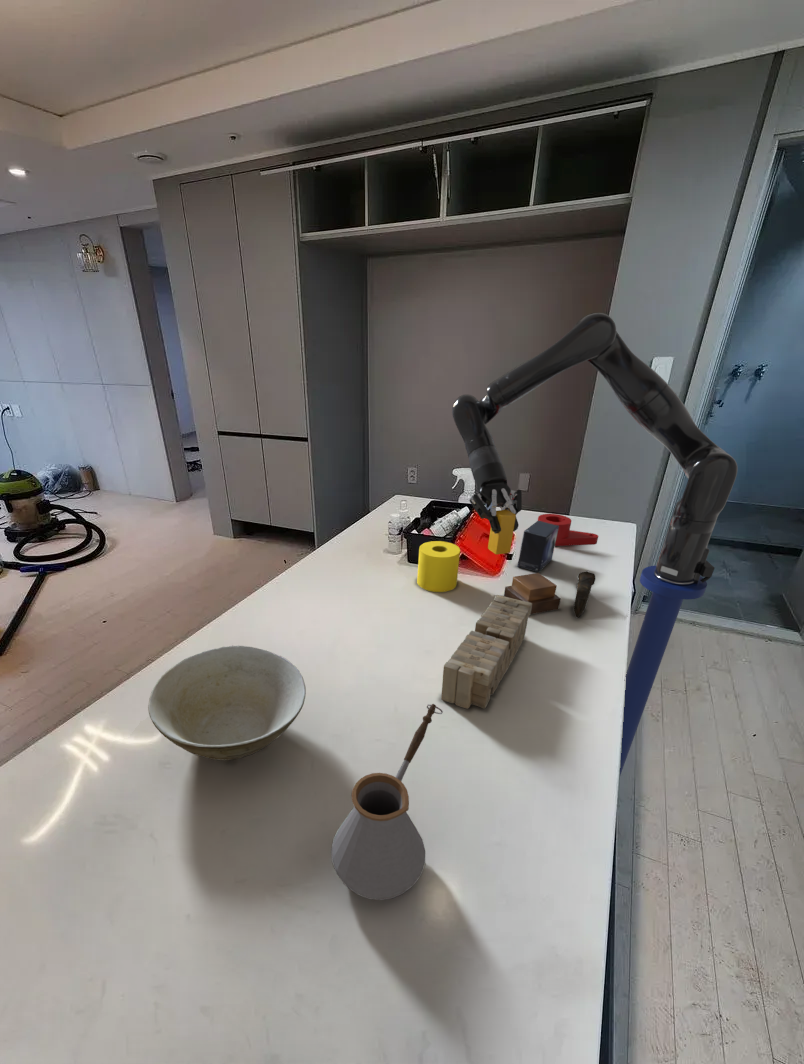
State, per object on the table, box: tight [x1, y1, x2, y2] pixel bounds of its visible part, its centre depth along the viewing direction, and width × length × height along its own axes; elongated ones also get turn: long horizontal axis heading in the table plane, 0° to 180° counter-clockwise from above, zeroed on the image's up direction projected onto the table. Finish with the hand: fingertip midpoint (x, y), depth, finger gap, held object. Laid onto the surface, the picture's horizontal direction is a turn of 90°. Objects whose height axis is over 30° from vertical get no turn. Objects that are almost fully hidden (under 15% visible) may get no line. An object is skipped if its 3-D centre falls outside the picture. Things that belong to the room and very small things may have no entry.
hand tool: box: [573, 570, 596, 619], centre depth 121 cm, size 19×4×5 cm, turn 151°
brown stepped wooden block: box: [503, 572, 562, 616], centre depth 119 cm, size 9×9×6 cm
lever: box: [537, 513, 599, 547], centre depth 153 cm, size 18×9×7 cm, turn 80°
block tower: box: [440, 594, 532, 710], centre depth 98 cm, size 8×8×29 cm
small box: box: [516, 520, 559, 573], centre depth 138 cm, size 11×6×10 cm, turn 143°
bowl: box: [147, 645, 307, 761], centre depth 81 cm, size 24×24×10 cm
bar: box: [487, 509, 517, 555], centre depth 126 cm, size 4×4×10 cm
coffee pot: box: [330, 703, 444, 901], centre depth 63 cm, size 21×12×15 cm, turn 149°
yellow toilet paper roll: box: [416, 540, 461, 593], centre depth 128 cm, size 10×10×9 cm
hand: (506, 530), depth 124 cm, fingers closed on bar, 4 cm apart
